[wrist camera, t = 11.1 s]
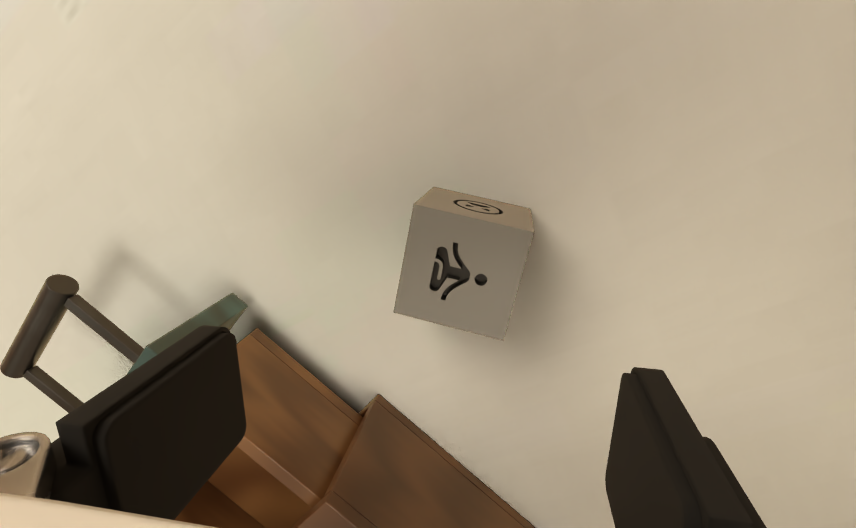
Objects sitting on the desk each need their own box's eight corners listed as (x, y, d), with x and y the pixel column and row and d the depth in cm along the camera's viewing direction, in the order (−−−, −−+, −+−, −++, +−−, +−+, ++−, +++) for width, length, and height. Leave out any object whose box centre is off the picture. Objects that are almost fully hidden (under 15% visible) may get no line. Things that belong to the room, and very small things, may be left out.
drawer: (56, 357, 31) (-63, 419, 24) (141, 214, 26) (23, 245, 20) (298, 552, 32) (245, 658, 26) (418, 449, 28) (389, 547, 21)
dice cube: (433, 186, 24) (413, 204, 19) (530, 208, 23) (534, 232, 18) (415, 276, 25) (393, 312, 21) (505, 298, 25) (503, 340, 20)
